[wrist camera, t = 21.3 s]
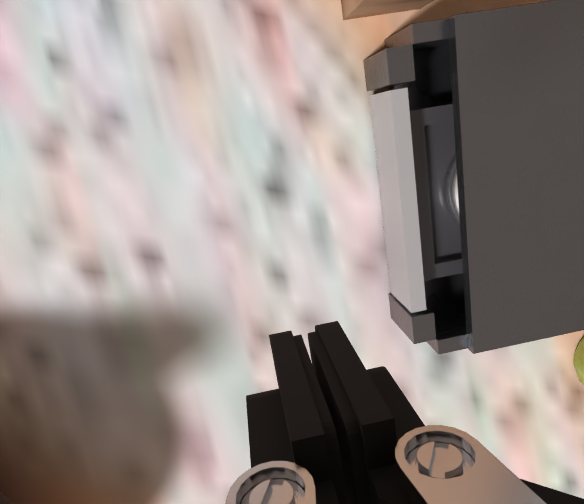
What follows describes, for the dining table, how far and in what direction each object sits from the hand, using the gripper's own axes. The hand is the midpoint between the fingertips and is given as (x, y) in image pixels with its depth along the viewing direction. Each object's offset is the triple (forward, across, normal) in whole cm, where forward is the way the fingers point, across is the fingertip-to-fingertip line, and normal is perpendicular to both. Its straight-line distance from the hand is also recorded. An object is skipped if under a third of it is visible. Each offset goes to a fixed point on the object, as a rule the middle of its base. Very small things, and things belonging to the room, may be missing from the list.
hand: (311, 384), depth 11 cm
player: (+21, -16, 0) cm, 27 cm away
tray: (+21, -15, 0) cm, 26 cm away
